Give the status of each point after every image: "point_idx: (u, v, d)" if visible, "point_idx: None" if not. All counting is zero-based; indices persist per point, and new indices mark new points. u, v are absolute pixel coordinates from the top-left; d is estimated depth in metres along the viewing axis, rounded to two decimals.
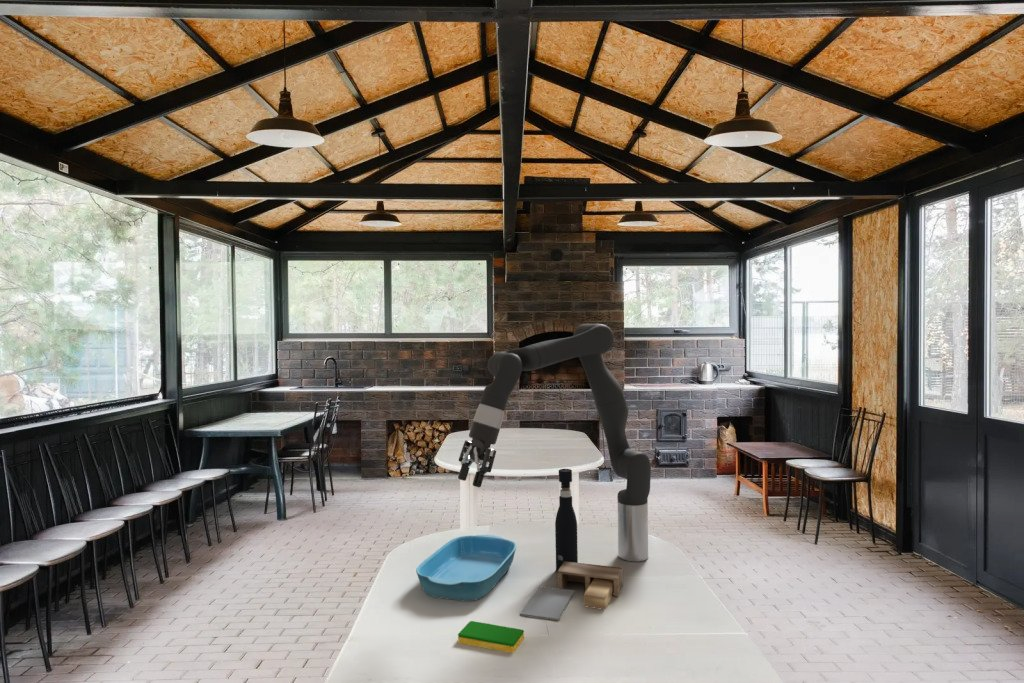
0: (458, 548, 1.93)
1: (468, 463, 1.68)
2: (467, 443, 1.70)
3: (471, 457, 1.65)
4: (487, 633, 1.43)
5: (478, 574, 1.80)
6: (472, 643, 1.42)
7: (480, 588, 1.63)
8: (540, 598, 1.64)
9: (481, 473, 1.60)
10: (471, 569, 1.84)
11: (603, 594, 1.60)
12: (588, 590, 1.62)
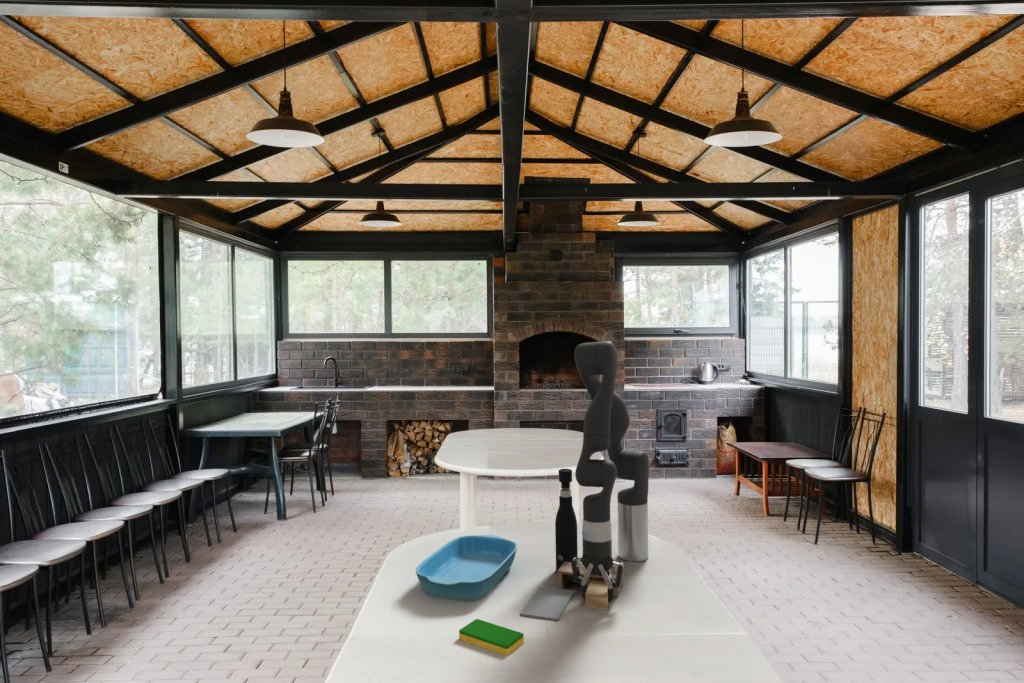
0: (459, 548, 1.93)
1: None
2: (575, 561, 1.63)
3: (595, 573, 1.61)
4: (486, 633, 1.43)
5: (479, 574, 1.80)
6: (470, 641, 1.43)
7: (479, 588, 1.63)
8: (540, 598, 1.64)
9: (613, 588, 1.60)
10: (472, 569, 1.84)
11: (604, 593, 1.60)
12: (589, 589, 1.62)
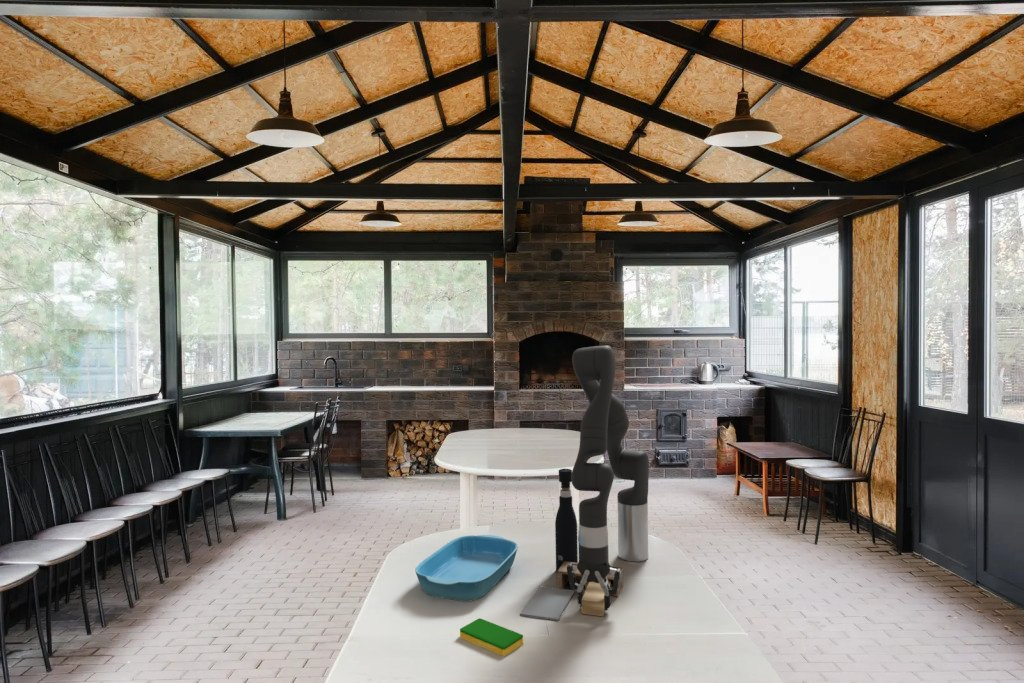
0: (460, 548, 1.93)
1: (582, 586, 1.59)
2: (571, 568, 1.59)
3: (592, 579, 1.57)
4: (486, 632, 1.43)
5: (479, 574, 1.80)
6: (470, 640, 1.43)
7: (478, 588, 1.63)
8: (540, 598, 1.64)
9: (610, 595, 1.56)
10: (472, 569, 1.84)
11: (601, 599, 1.56)
12: (585, 595, 1.58)
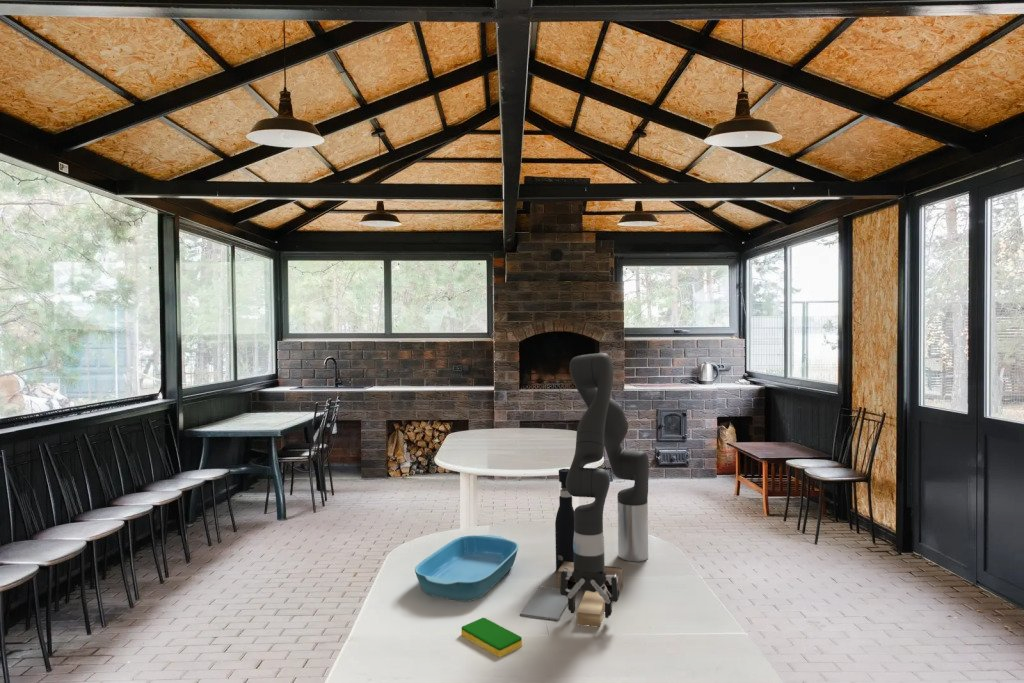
0: (461, 548, 1.94)
1: None
2: (566, 574, 1.53)
3: (585, 589, 1.52)
4: (486, 632, 1.44)
5: (479, 574, 1.80)
6: (470, 639, 1.44)
7: (476, 588, 1.63)
8: (540, 598, 1.64)
9: (611, 603, 1.50)
10: (472, 569, 1.84)
11: (597, 611, 1.51)
12: (581, 607, 1.53)
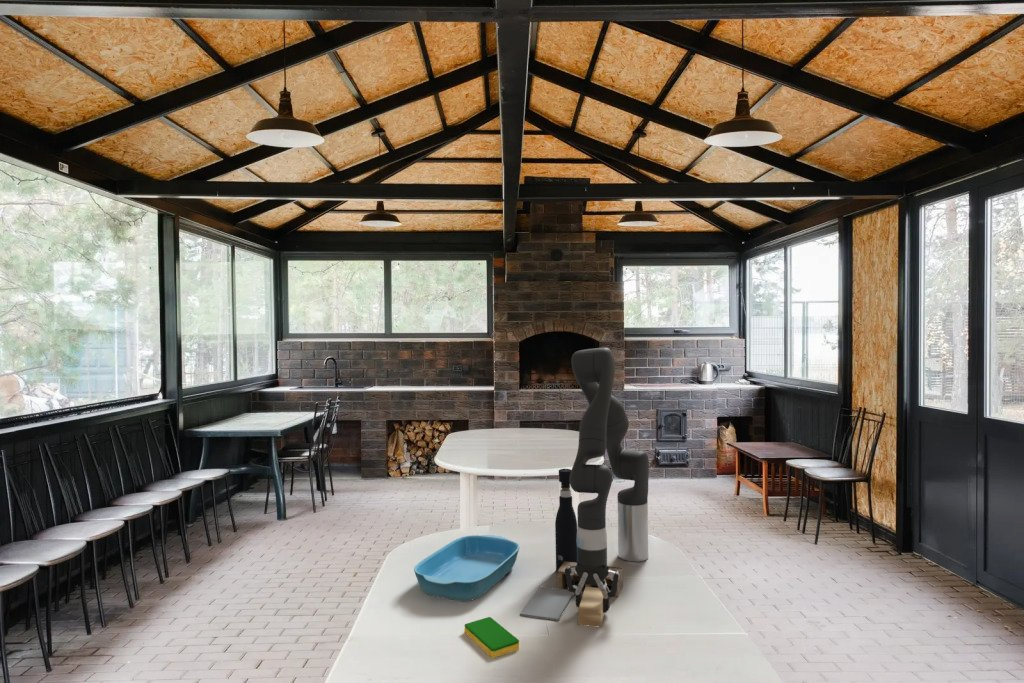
0: (463, 547, 1.94)
1: None
2: (569, 570, 1.57)
3: (590, 582, 1.55)
4: (486, 632, 1.44)
5: (479, 574, 1.80)
6: (471, 637, 1.45)
7: (474, 589, 1.63)
8: (540, 598, 1.64)
9: (609, 598, 1.55)
10: (473, 569, 1.84)
11: (598, 610, 1.51)
12: (581, 606, 1.53)
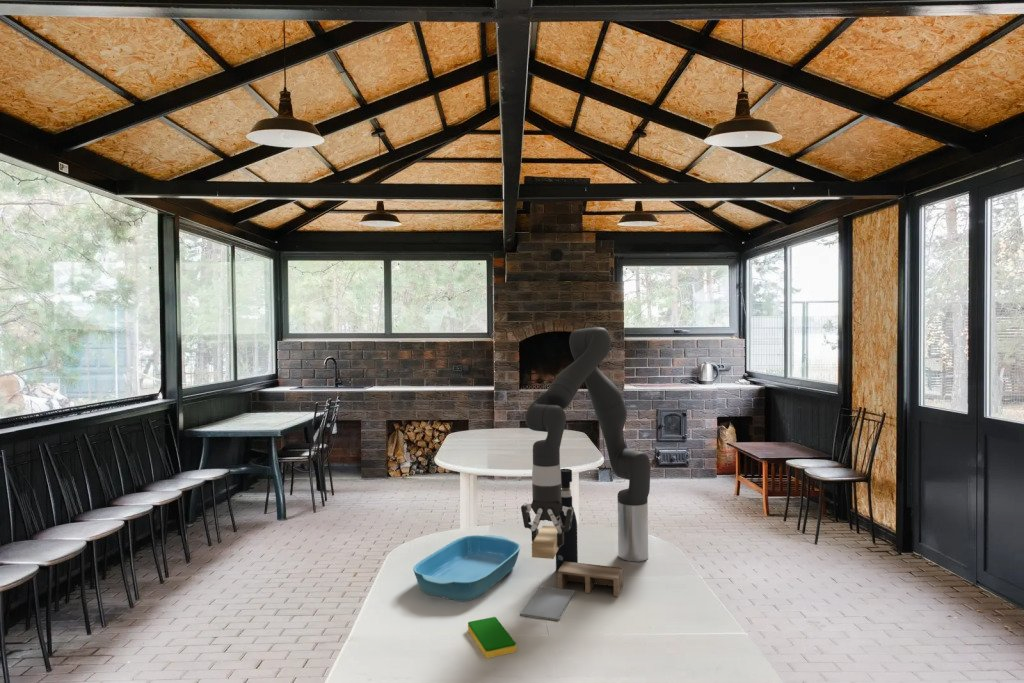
0: (465, 547, 1.94)
1: (536, 525, 1.63)
2: (525, 507, 1.63)
3: (545, 518, 1.61)
4: (486, 631, 1.44)
5: (479, 575, 1.80)
6: (472, 635, 1.46)
7: (472, 589, 1.63)
8: (540, 598, 1.64)
9: (563, 533, 1.60)
10: (474, 569, 1.84)
11: (551, 542, 1.56)
12: (536, 540, 1.58)
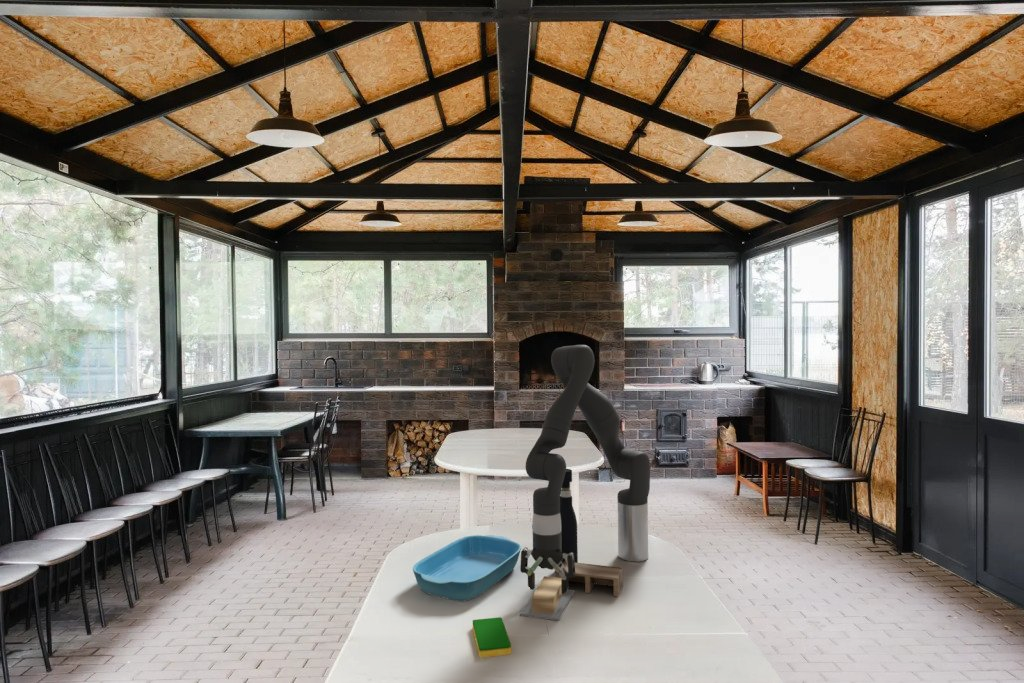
0: (467, 547, 1.94)
1: None
2: (525, 552, 1.63)
3: (543, 566, 1.61)
4: (486, 631, 1.44)
5: (479, 575, 1.80)
6: (474, 633, 1.47)
7: (470, 589, 1.63)
8: None
9: (567, 579, 1.60)
10: (474, 569, 1.84)
11: (551, 597, 1.57)
12: (536, 593, 1.59)
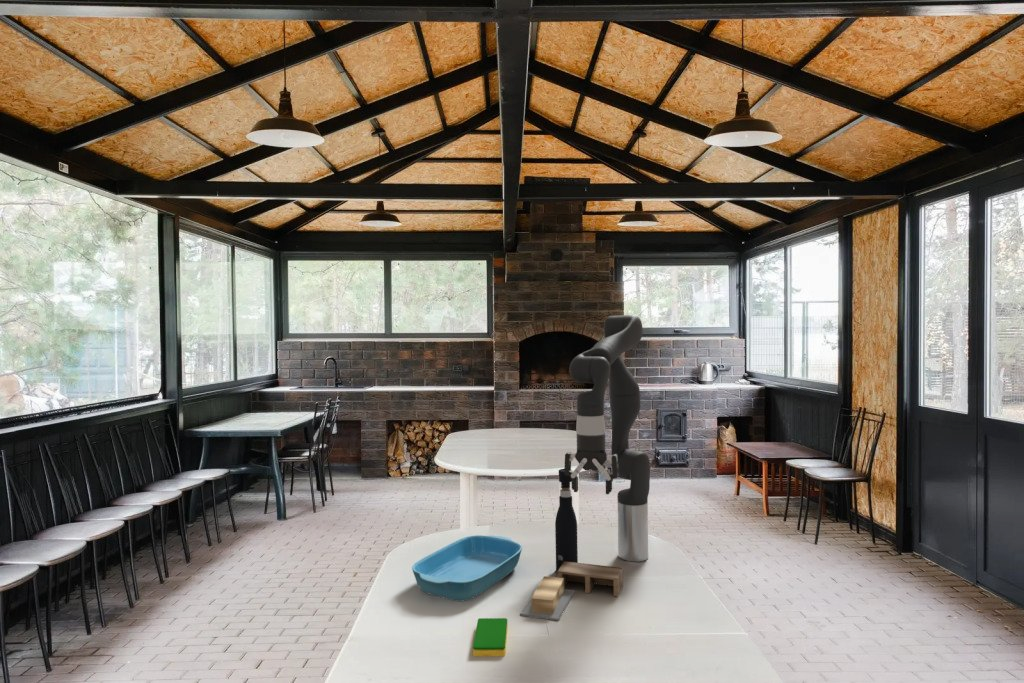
0: (468, 547, 1.94)
1: (576, 473, 1.66)
2: (569, 455, 1.66)
3: (587, 468, 1.64)
4: (486, 630, 1.44)
5: (479, 575, 1.80)
6: None
7: (468, 589, 1.63)
8: None
9: (611, 480, 1.63)
10: (475, 569, 1.84)
11: (551, 597, 1.57)
12: (536, 593, 1.59)
